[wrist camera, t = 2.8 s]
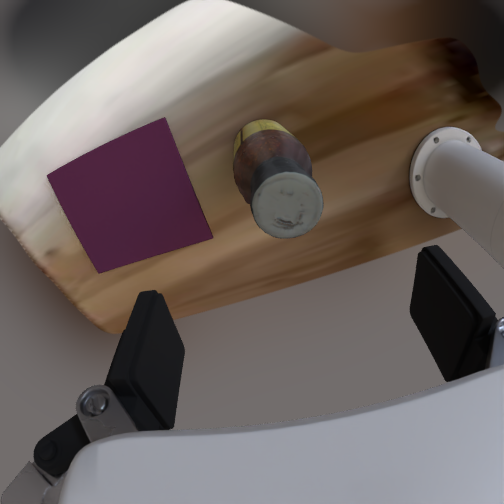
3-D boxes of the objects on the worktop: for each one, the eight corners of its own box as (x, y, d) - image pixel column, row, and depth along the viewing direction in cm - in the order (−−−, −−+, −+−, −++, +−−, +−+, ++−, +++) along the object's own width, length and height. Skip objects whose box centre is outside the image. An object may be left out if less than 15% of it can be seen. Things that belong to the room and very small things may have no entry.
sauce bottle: (263, 181, 37) (280, 283, 20) (222, 146, 35) (200, 220, 18) (303, 141, 35) (361, 211, 17) (263, 103, 32) (284, 132, 15)
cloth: (165, 117, 33) (164, 117, 32) (213, 237, 41) (213, 238, 40) (47, 174, 35) (46, 175, 35) (99, 272, 43) (98, 273, 43)
